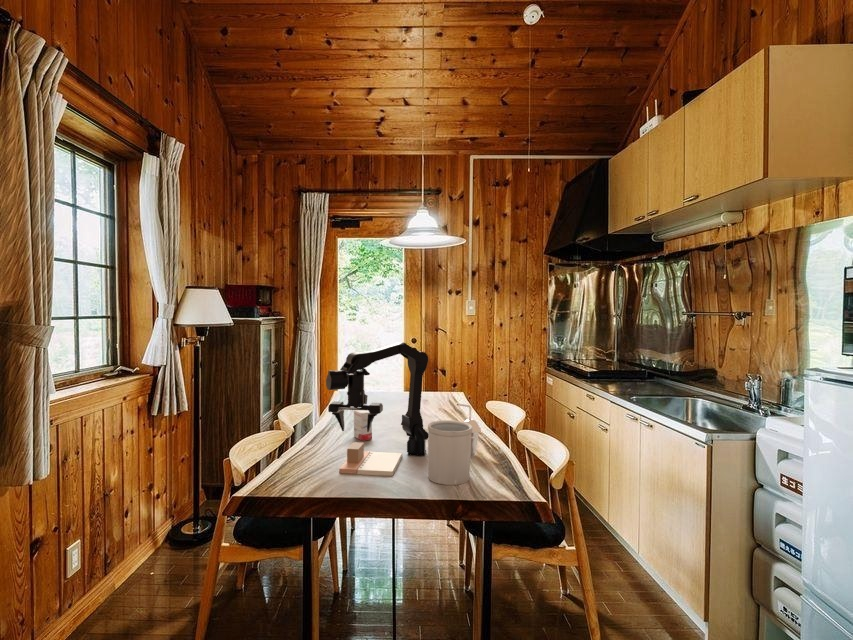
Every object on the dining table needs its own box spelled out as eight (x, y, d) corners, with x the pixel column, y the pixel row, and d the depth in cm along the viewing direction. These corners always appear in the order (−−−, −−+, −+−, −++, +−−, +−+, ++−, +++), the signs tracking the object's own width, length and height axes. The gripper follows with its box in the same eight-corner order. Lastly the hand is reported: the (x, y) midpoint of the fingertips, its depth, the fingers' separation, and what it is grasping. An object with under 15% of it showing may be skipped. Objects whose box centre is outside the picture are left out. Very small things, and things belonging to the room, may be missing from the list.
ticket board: (402, 457, 176) (402, 452, 176) (392, 475, 156) (392, 471, 156) (370, 455, 177) (370, 451, 177) (357, 474, 157) (357, 469, 157)
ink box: (372, 439, 199) (372, 412, 199) (361, 441, 196) (361, 413, 196) (363, 434, 206) (363, 408, 206) (352, 436, 203) (353, 409, 203)
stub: (370, 455, 177) (370, 438, 177) (356, 473, 157) (356, 454, 157) (354, 454, 178) (354, 437, 178) (339, 472, 158) (339, 453, 158)
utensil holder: (474, 472, 161) (474, 421, 160) (468, 488, 146) (469, 432, 146) (432, 468, 164) (433, 418, 164) (422, 483, 150) (423, 429, 149)
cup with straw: (478, 459, 174) (479, 406, 173) (454, 457, 177) (455, 404, 176) (482, 452, 182) (483, 401, 182) (459, 450, 185) (460, 400, 184)
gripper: (386, 385, 174) (385, 426, 175) (337, 383, 176) (337, 424, 177) (379, 390, 163) (379, 434, 164) (327, 388, 165) (327, 432, 166)
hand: (355, 431), depth 168 cm, fingers open, 9 cm apart
